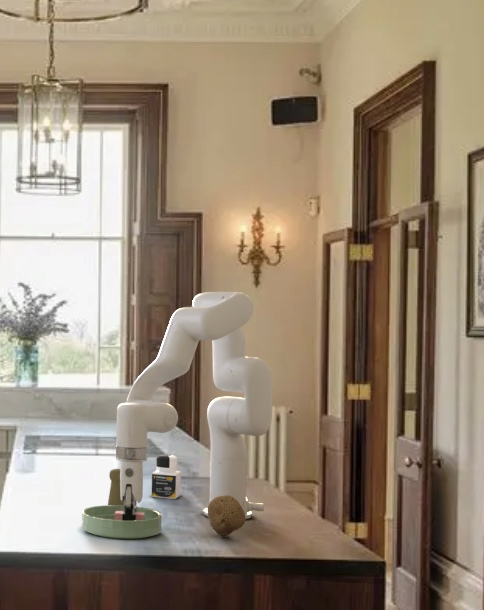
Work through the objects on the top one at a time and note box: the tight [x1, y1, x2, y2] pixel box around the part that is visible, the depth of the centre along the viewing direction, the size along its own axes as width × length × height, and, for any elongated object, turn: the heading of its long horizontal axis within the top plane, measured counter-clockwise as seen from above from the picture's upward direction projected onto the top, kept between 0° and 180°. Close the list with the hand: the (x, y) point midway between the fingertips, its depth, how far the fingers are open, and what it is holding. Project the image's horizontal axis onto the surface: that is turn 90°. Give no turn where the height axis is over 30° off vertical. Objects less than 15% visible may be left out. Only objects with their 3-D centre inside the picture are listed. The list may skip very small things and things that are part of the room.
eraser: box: [115, 511, 145, 520], centre depth 246 cm, size 7×3×4 cm, turn 79°
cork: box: [107, 468, 124, 505], centre depth 274 cm, size 6×6×11 cm
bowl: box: [81, 504, 163, 540], centre depth 246 cm, size 19×19×4 cm
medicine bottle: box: [151, 454, 182, 500], centre depth 295 cm, size 7×7×12 cm
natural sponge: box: [206, 495, 246, 538], centre depth 243 cm, size 9×9×10 cm
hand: (129, 528), depth 246 cm, fingers closed on eraser, 3 cm apart
